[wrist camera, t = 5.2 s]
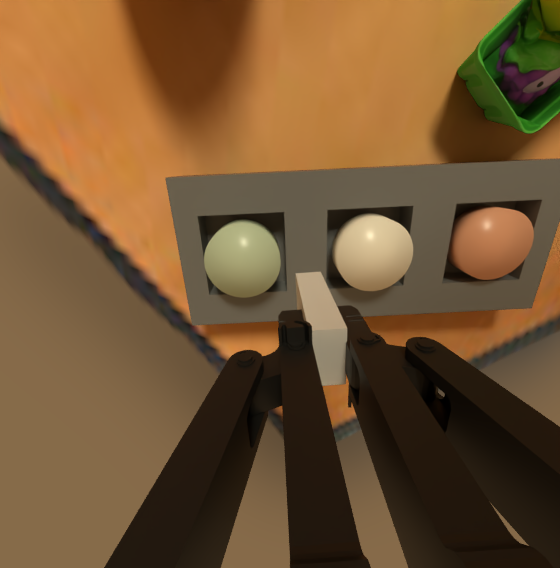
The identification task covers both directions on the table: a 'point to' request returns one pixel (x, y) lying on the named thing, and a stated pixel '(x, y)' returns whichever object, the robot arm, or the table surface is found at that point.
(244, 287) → the sage button
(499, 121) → the fruit basket
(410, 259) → the cream button
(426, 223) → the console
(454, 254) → the terracotta button
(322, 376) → the robot arm
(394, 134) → the table surface
